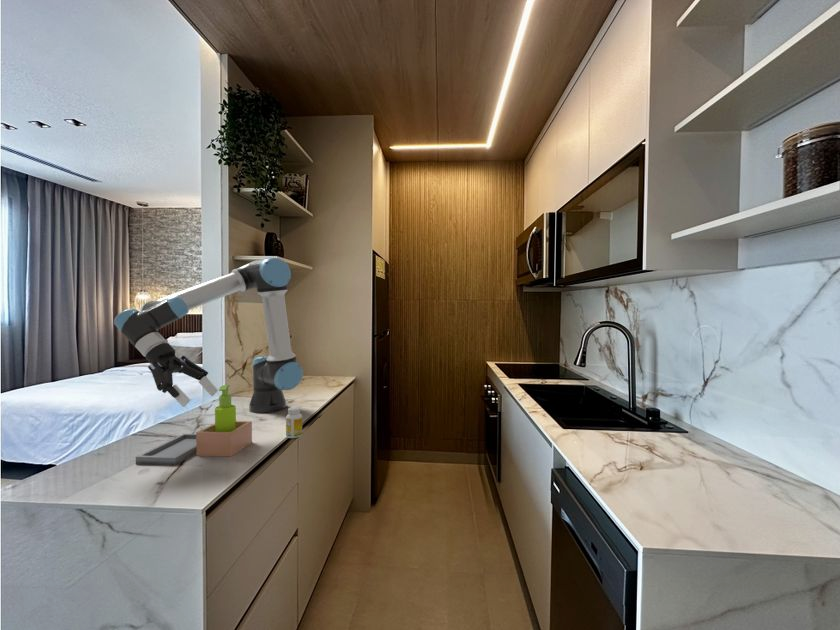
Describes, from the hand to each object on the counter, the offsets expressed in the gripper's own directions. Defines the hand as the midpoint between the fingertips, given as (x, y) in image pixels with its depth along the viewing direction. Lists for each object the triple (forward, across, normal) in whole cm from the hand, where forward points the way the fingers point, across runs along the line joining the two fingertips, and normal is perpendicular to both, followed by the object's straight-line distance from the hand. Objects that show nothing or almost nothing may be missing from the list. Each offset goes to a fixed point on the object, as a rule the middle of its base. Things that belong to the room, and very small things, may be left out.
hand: (201, 398), depth 120 cm
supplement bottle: (+28, -14, +6) cm, 32 cm away
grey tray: (+7, +2, -16) cm, 17 cm away
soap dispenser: (+17, -1, -6) cm, 18 cm away
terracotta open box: (+16, -1, -6) cm, 18 cm away
